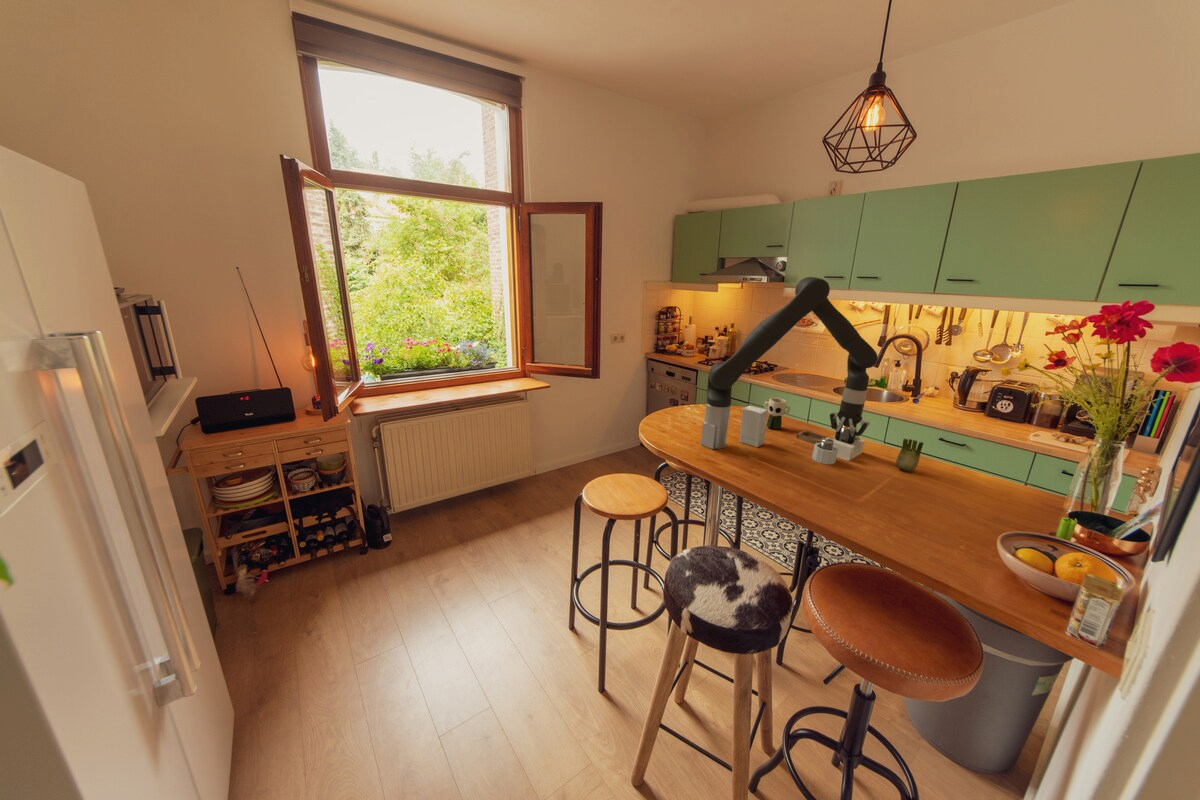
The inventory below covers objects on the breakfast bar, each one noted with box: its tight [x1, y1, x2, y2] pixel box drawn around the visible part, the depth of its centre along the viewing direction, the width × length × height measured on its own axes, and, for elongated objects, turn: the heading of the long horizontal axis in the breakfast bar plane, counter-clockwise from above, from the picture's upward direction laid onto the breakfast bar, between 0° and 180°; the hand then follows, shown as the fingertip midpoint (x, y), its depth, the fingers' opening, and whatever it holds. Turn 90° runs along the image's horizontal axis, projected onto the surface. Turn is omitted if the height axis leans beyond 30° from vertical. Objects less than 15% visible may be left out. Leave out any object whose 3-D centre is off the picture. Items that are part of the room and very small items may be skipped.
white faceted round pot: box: [811, 443, 838, 465], centre depth 159 cm, size 8×8×6 cm
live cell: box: [838, 425, 851, 444], centre depth 164 cm, size 4×4×8 cm
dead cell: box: [820, 437, 834, 451], centre depth 158 cm, size 4×4×8 cm
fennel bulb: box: [895, 438, 925, 473], centre depth 153 cm, size 6×5×12 cm
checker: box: [829, 434, 865, 462], centre depth 166 cm, size 12×10×7 cm
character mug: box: [763, 397, 791, 430], centre depth 190 cm, size 11×7×13 cm, turn 51°
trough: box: [796, 429, 833, 445], centre depth 177 cm, size 8×12×2 cm, turn 39°
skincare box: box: [739, 405, 768, 448], centre depth 173 cm, size 8×6×15 cm
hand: (843, 442), depth 165 cm, fingers closed on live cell, 4 cm apart
